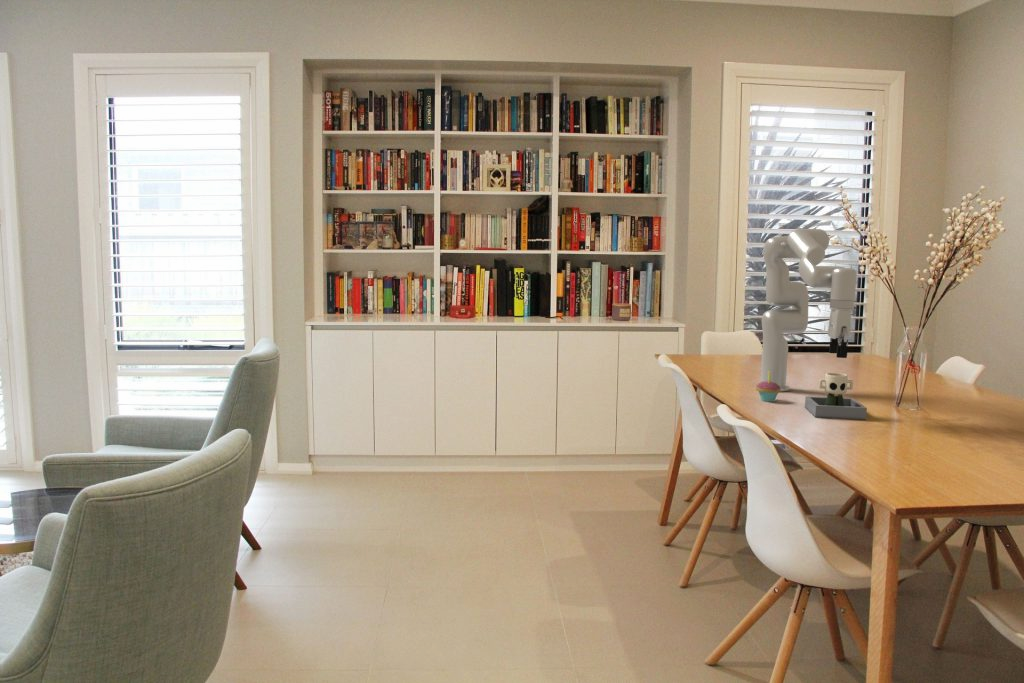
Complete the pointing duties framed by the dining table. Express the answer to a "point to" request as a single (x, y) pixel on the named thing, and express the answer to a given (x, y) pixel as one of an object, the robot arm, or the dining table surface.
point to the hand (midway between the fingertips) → (837, 355)
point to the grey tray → (835, 409)
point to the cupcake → (768, 390)
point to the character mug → (835, 388)
